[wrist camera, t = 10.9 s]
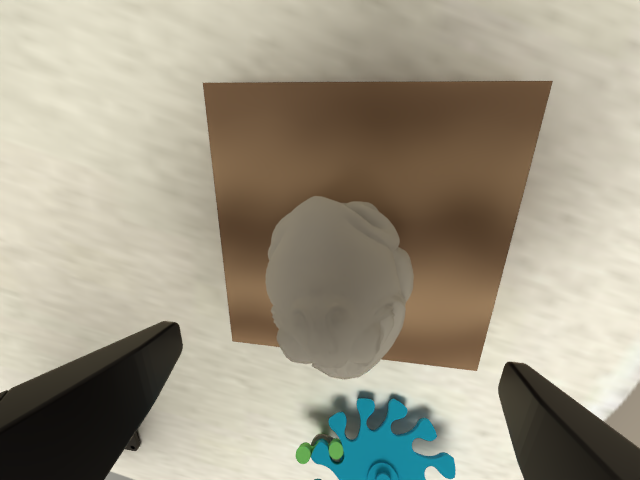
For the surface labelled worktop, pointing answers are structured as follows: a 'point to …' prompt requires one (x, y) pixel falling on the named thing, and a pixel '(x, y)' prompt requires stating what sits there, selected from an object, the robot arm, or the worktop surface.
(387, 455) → the gear
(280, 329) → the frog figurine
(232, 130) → the walnut block
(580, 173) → the worktop surface
